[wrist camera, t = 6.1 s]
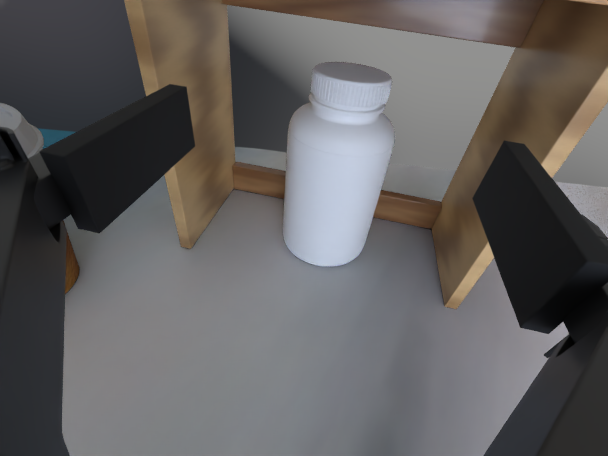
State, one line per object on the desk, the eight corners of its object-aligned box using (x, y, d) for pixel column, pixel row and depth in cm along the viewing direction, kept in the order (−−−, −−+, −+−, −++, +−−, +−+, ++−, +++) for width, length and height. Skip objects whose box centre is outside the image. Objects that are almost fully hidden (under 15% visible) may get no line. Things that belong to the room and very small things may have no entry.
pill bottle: (321, 203, 34) (347, 52, 24) (379, 244, 30) (438, 81, 20) (264, 232, 30) (267, 61, 20) (323, 284, 26) (363, 101, 16)
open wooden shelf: (456, 309, 25) (696, -19, 11) (180, 247, 27) (102, -92, 14) (439, 225, 33) (566, -24, 20) (228, 182, 36) (210, -69, 22)
